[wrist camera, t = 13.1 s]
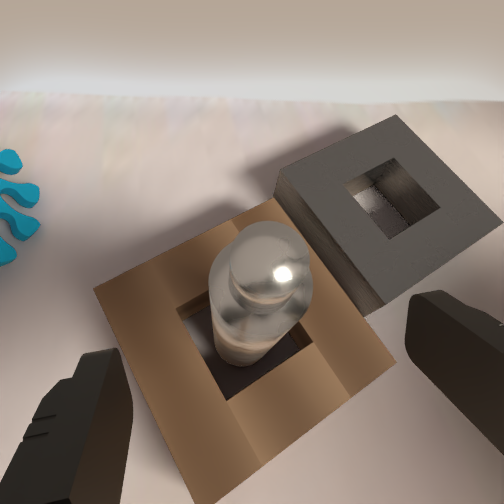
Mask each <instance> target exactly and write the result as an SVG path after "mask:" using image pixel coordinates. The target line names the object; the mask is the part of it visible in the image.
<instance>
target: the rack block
mask: <svg viewBox="0 0 504 504" xmlns="http://www.w3.org/2000/svg"><path fill="white" fill-rule="evenodd" d="M261 221H275V222H279V223H283V224H285V225H287V226H289V227H291V228H292V229H294V230H295V231H296V232H297V233H298V234H299V235H300V236H301V237H302V238H303V240H304V241H305V243H306V245H307V247H308V250H309V255H310V265H309V269H310V272H311V275H312V280H313V294H312V299H311V302H310V305H309V307H308V309H307V311H306V313H305V314H304V315H303V317H302V318H301V319H300V320H299V321H298V322H297V323H296V324H295V325H294V326H293V327H292V328H291V329H290V330H289V331H288V332H289V334H290V335H291V337H292V338H293V340H294V342H295V343H296V345H297V346H298V348H299V349H300V351H298V352H297V353H295V354H294V355H292V356H291V357H289V358H288V359H286V360H285V361H283V362H282V363H281V364H279V365H278V366H276V367H275V368H273V369H272V370H270V371H269V372H267V373H266V374H264V375H263V376H261V377H260V378H258V379H257V380H256V381H254V382H253V383H251V384H250V385H248V386H247V387H245V388H244V389H242V390H241V391H239V392H238V393H236V394H235V395H234V396H232V397H231V398H229V399H228V400H225V398H224V396H223V394H222V392H221V391H220V389H219V387H218V385H217V383H216V381H215V380H214V378H213V376H212V374H211V372H210V371H209V369H208V367H207V365H206V363H205V362H204V360H203V358H202V356H201V354H200V353H199V351H198V349H197V347H196V345H195V343H194V342H193V340H192V338H191V336H190V334H189V333H188V331H187V329H186V327H185V325H184V324H183V322H182V321H183V320H185V319H186V318H188V317H190V316H192V315H193V314H195V313H197V312H199V311H200V310H202V309H204V308H206V307H207V306H209V305H210V296H209V285H208V281H209V273H210V269H211V266H212V264H213V262H214V260H215V258H216V257H217V255H218V254H219V253H220V251H221V250H222V249H223V248H224V247H226V246H227V245H228V244H230V243H231V242H233V241H234V239H235V238H236V236H237V235H238V234H239V233H240V232H241V231H242V230H243V229H244V228H245V227H247V226H249V225H251V224H253V223H256V222H261ZM93 290H94V292H95V294H96V296H97V298H98V300H99V303H100V305H101V307H102V309H103V311H104V313H105V315H106V317H107V319H108V322H109V324H110V326H111V328H112V330H113V332H114V334H115V336H116V338H117V341H118V343H119V345H120V347H121V349H122V351H123V353H124V355H125V357H126V359H127V362H128V364H129V366H130V368H131V370H132V372H133V374H134V376H135V378H136V381H137V383H138V385H139V387H140V389H141V391H142V393H143V395H144V397H145V400H146V402H147V404H148V406H149V408H150V410H151V412H152V414H153V416H154V419H155V421H156V423H157V425H158V427H159V429H160V431H161V433H162V435H163V438H164V440H165V442H166V444H167V446H168V448H169V450H170V452H171V454H172V457H173V459H174V461H175V463H176V465H177V467H178V469H179V471H180V473H181V476H182V478H183V480H184V482H185V484H186V486H187V488H188V490H189V492H190V495H191V497H192V499H193V501H194V503H195V504H215V503H216V502H217V501H219V500H220V499H221V498H222V497H224V496H225V495H226V494H228V493H229V492H230V491H231V490H233V489H234V488H235V487H237V486H238V485H239V484H241V483H242V482H243V481H244V480H246V479H247V478H248V477H250V476H251V475H252V474H253V473H255V472H256V471H257V470H259V469H260V468H261V467H262V466H264V465H265V464H266V463H268V462H269V461H270V460H272V459H273V458H274V457H275V456H277V455H278V454H279V453H281V452H282V451H283V450H284V449H286V448H287V447H288V446H290V445H291V444H292V443H293V442H295V441H296V440H297V439H299V438H300V437H301V436H302V435H304V434H305V433H306V432H308V431H309V430H310V429H312V428H313V427H314V426H315V425H317V424H318V423H319V422H321V421H322V420H323V419H324V418H326V417H327V416H328V415H330V414H331V413H332V412H333V411H335V410H336V409H337V408H339V407H340V406H341V405H343V404H344V403H345V402H346V401H348V400H349V399H350V398H352V397H353V396H354V395H355V394H357V393H358V392H359V391H361V390H362V389H363V388H364V387H366V386H367V385H368V384H370V383H371V382H372V381H373V380H375V379H376V378H377V377H379V376H380V375H381V374H383V373H384V372H385V371H386V370H388V369H389V368H390V367H392V366H393V365H394V364H395V363H397V362H396V360H395V359H394V358H393V356H392V355H391V354H390V352H389V351H388V350H387V348H386V347H385V346H384V344H383V343H382V342H381V340H380V339H379V338H378V336H377V335H376V334H375V332H374V331H373V330H372V328H371V327H370V326H369V324H368V323H367V322H366V320H365V319H364V318H363V316H362V315H361V314H360V312H359V311H358V309H357V308H356V307H355V305H354V304H353V303H352V301H351V300H350V299H349V297H348V296H347V295H346V293H345V292H344V291H343V289H342V288H341V287H340V285H339V284H338V283H337V281H336V280H335V279H334V277H333V276H332V275H331V273H330V272H329V271H328V269H327V268H326V267H325V265H324V264H323V263H322V261H321V260H320V259H319V257H318V256H317V255H316V253H315V252H314V251H313V249H312V248H311V247H310V245H309V244H308V243H307V241H306V240H305V239H304V237H303V236H302V235H301V233H300V232H299V230H298V229H297V228H296V226H295V225H294V224H293V222H292V221H291V220H290V218H289V217H288V216H287V214H286V213H285V212H284V210H283V209H282V208H281V206H280V205H279V204H278V202H277V201H276V200H275V198H272V199H270V200H268V201H266V202H264V203H262V204H260V205H258V206H256V207H254V208H252V209H250V210H248V211H246V212H244V213H242V214H240V215H238V216H236V217H234V218H232V219H230V220H228V221H226V222H224V223H222V224H220V225H218V226H216V227H214V228H212V229H210V230H208V231H206V232H204V233H202V234H200V235H198V236H196V237H194V238H192V239H190V240H188V241H186V242H184V243H182V244H180V245H178V246H176V247H174V248H172V249H170V250H168V251H166V252H164V253H162V254H160V255H158V256H157V257H155V258H153V259H151V260H149V261H147V262H145V263H143V264H141V265H139V266H137V267H135V268H133V269H131V270H129V271H127V272H125V273H123V274H121V275H119V276H117V277H115V278H113V279H111V280H109V281H107V282H105V283H103V284H101V285H99V286H97V287H95V288H93Z"/></svg>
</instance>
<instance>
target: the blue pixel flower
mask: <svg viewBox="0 0 504 504" xmlns="http://www.w3.org/2000/svg"><path fill="white" fill-rule="evenodd" d="M22 167H23V165H22V162H21V160H20V158H19V156H18V155H17V153H16V152H15V151H14V150H10V149H5V150H3V151H1V152H0V171H1V172H3V173H5V174H9V175H14V174H17V173H18V172H19V171H20V169H21V168H22ZM0 194H8V195H10V196H12V197H13V198H14V199H15V200H16V202H17V203H19V204H20V205H21V206H23V207H26V208H32V207H33V206H34V205H35V204H36V203H37V202H38V200H39V194H40V192H39V187H38V186H36V185H34V184H31V183H26V184H17V183H12V182H8V181H6V180H3V179H1V178H0ZM0 218H2V219H5V220H6V221H7V222H8V223H9V224H10V227H11V231H12V234H13V235H14V236H15V237H16V238H17V239H18V240H21V241H25V240H27V239H28V238H29V237H30V236H32V235H33V234H34V233H35V232H36V231H37V229H38V228H39V226H40V225H41V224H40V223H39V222H38V221H37V220H36V219H35V218H33V217H29V216H26V215H23V214H21V213H19V212H17V211H15V210H14V209H12V208H11V207H10V206H9V205H8V204H7V203H6V202H5V201H4V200H3V199H2V198H1V196H0ZM15 258H17V253H16V251H15V249H14V248H13V247H12V246H10V245H9V244H7V243H6V242H5V241H4V240H3V239H2V238H1V237H0V266H3V265H6V264H8V263H10V262H12V261H13V260H14V259H15Z"/></svg>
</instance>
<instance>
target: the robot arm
mask: <svg viewBox="0 0 504 504" xmlns="http://www.w3.org/2000/svg"><path fill="white" fill-rule="evenodd" d="M405 347H406V351H407V353H408V355H409V357H410V359H411V360H412V362H413V363H414V364H415V365H416V366H417V367H418V368H419V369H420V370H421V371H422V372H423V373H424V374H425V375H426V376H427V377H428V378H429V379H430V380H431V381H432V382H433V383H434V384H435V385H436V386H437V387H438V388H439V389H440V390H441V391H442V392H443V393H444V394H445V396H446V397H447V398H448V399H449V400H450V401H451V402H452V403H453V404H454V405H455V406H456V407H457V408H458V409H459V410H460V411H461V412H462V413H463V414H464V415H465V416H466V417H467V418H468V419H469V420H470V421H471V422H472V423H473V424H474V425H475V426H476V427H477V428H478V429H479V430H480V431H481V432H482V433H483V434H484V436H485V437H486V438H487V439H488V440H489V441H490V442H491V443H492V444H493V445H494V446H495V447H496V448H497V449H498V450H499V451H500V452H501V453H502V454H503V455H504V326H503V323H501V322H500V321H498V320H496V319H495V318H493V317H491V316H490V315H488V314H487V313H485V312H483V311H480V310H477V309H475V308H472V307H469V306H467V305H465V304H464V303H462V302H460V301H459V300H457V299H456V298H454V297H452V296H451V295H449V294H448V293H446V292H444V291H442V290H437V291H431V292H426V293H420V294H415V295H413V296H412V297H411V298H410V301H409V307H408V316H407V324H406V333H405ZM132 424H133V401H132V395H131V391H130V388H129V384H128V381H127V377H126V373H125V370H124V366H123V363H122V359H121V355H120V353H119V350H118V349H117V348H112V349H107V350H101V351H96V352H90V353H85V354H83V355H82V356H81V358H80V361H79V363H78V365H77V368H76V370H75V372H74V375H73V377H72V378H67V379H62V380H60V381H59V382H58V383H57V384H56V385H55V386H54V387H53V388H52V389H51V390H50V391H49V392H48V393H47V394H46V395H45V396H44V397H43V398H42V400H41V402H40V404H39V406H38V408H37V410H36V412H35V414H34V416H33V418H32V423H31V424H29V426H28V428H27V430H26V432H25V434H24V436H23V442H20V444H19V446H18V448H17V450H16V452H15V454H14V456H13V458H12V460H11V462H10V464H9V466H8V468H7V470H6V472H5V474H4V476H3V478H2V480H1V482H0V504H120V499H121V493H122V486H123V480H124V474H125V467H126V461H127V455H128V449H129V442H130V436H131V430H132Z"/></svg>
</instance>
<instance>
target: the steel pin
mask: <svg viewBox="0 0 504 504" xmlns="http://www.w3.org/2000/svg"><path fill="white" fill-rule="evenodd" d="M309 265H310V255H309V250H308V247H307V245H306V243H305V241H304V240H303V238H302V237H301V236H300V235H299V234H298V233H297V232H296V231H295V230H294V229H292V228H291V227H289V226H287V225H285V224H283V223H279V222H275V221H261V222H256V223H253V224H251V225H249V226H247V227H245V228H244V229H243V230H242V231H241V232H240V233H239V234H238V235H237V236H236V238H235V239H234V241H233V242H231V243H230V244H228V245H227V246H226V247H224V248H223V249H222V250H221V251H220V253H219V254H218V255H217V257H216V258H215V260H214V262H213V264H212V266H211V269H210V273H209V281H208V285H209V296H210V306H211V316H212V325H213V335H214V343H215V347H216V350H217V352H218V354H219V355H220V356H221V358H222V359H224V360H225V361H226V362H228V363H229V364H231V365H234V366H249V365H252V364H254V363H256V362H257V361H259V360H260V359H261V358H262V357H263V356H264V355H265V354H266V353H267V352H268V351H269V350H270V349H271V348H272V347H273V346H274V345H275V344H276V343H277V342H278V341H279V340H280V339H281V338H282V337H283V336H284V335H285V334H286V333H287V332H288V331H289V330H290V329H291V328H292V327H293V326H294V325H295V324H296V323H297V322H298V321H299V320H300V319H301V318H302V317H303V315H304V314H305V313H306V311H307V309H308V307H309V305H310V302H311V299H312V294H313V280H312V275H311V272H310V269H309Z"/></svg>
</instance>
